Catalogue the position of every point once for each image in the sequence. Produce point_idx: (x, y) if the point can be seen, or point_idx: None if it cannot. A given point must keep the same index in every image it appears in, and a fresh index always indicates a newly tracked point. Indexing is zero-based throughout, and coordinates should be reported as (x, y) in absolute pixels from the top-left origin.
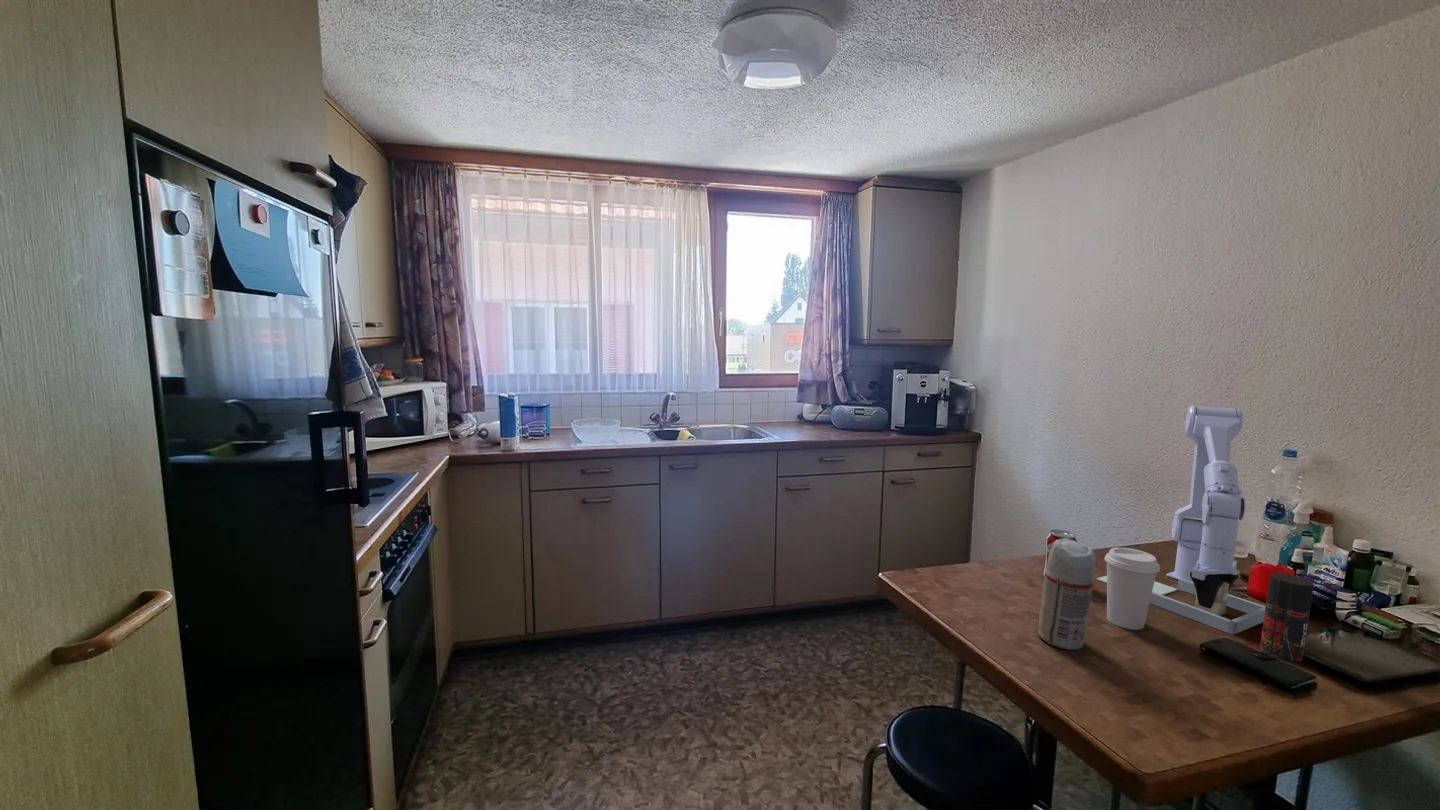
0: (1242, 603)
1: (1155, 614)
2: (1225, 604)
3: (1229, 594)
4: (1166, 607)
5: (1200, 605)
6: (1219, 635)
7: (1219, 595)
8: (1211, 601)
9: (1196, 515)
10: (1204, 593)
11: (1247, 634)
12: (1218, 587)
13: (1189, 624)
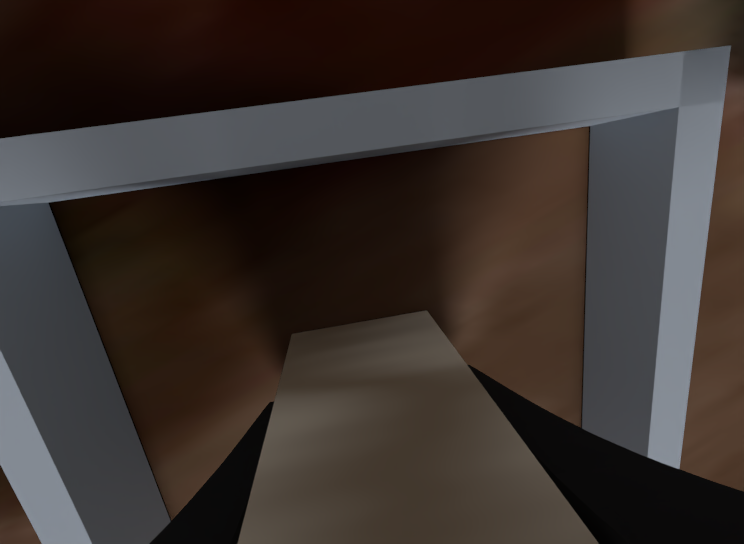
0: (47, 369)
1: (730, 417)
2: (292, 373)
3: (23, 508)
4: None
5: None
6: None
7: (480, 425)
8: (517, 394)
9: None
10: None
11: (511, 46)
12: (709, 526)
13: (705, 281)
